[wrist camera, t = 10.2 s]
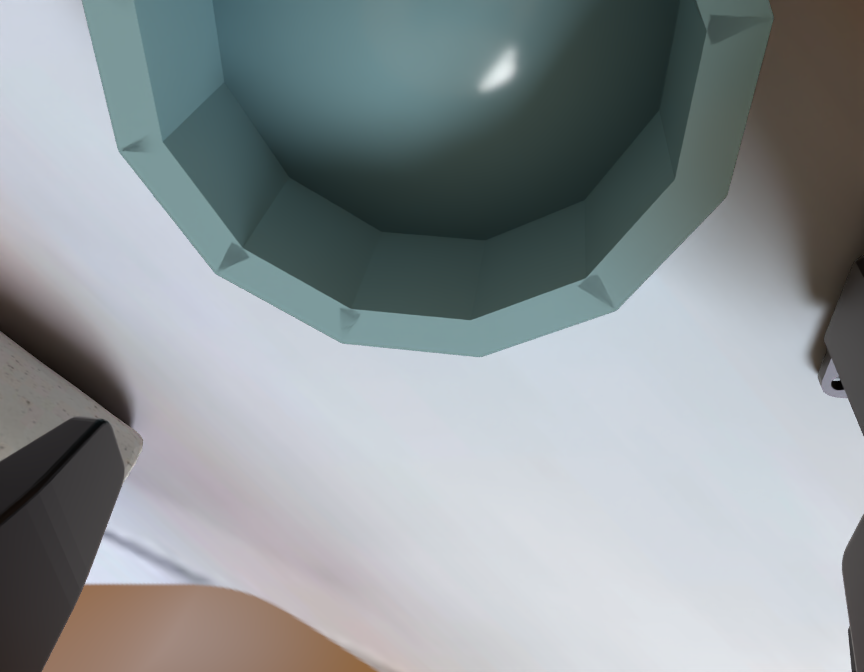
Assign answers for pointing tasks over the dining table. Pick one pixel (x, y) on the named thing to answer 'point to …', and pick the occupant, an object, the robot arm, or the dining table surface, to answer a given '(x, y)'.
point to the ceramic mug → (47, 404)
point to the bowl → (433, 150)
